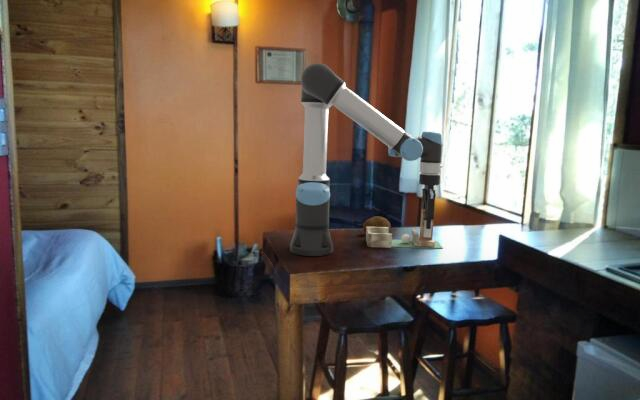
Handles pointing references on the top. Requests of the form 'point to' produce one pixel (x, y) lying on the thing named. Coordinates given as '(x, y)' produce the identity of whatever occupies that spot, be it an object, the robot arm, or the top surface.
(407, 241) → the ball
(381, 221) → the potato
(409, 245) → the plate
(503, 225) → the top surface
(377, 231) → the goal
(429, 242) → the kicker
